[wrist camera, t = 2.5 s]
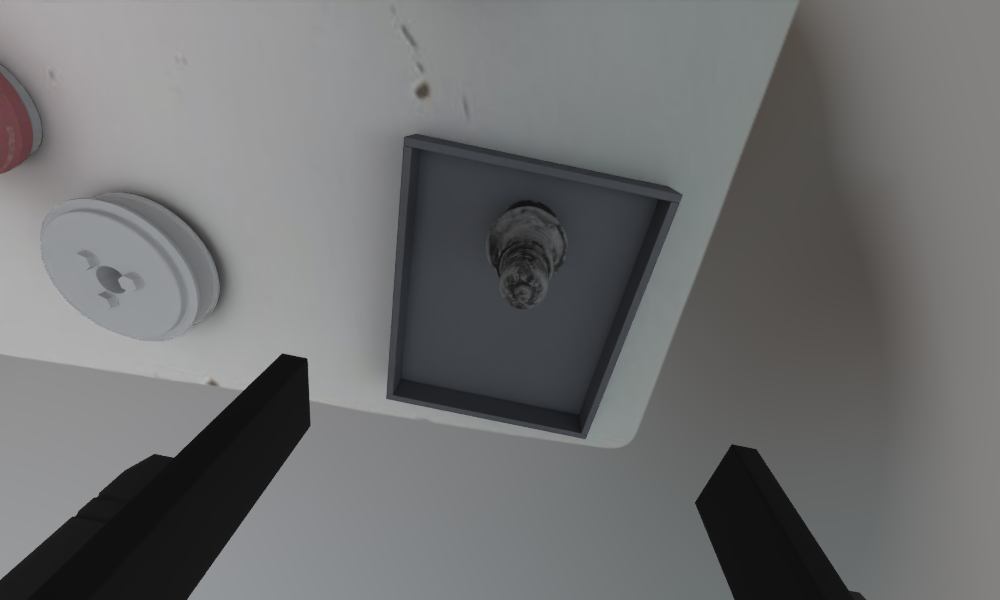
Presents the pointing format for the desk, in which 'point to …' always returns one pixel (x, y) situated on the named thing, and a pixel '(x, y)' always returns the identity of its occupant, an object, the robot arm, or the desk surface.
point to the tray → (476, 296)
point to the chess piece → (526, 252)
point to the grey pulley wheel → (129, 265)
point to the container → (16, 123)
